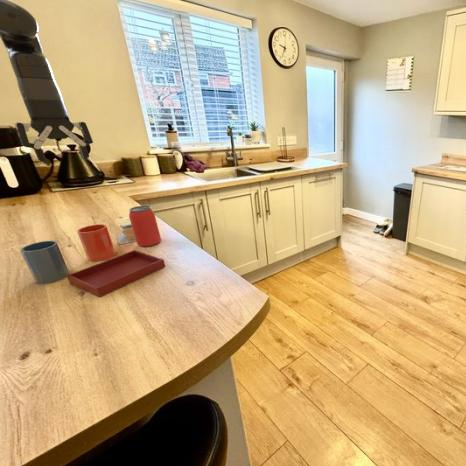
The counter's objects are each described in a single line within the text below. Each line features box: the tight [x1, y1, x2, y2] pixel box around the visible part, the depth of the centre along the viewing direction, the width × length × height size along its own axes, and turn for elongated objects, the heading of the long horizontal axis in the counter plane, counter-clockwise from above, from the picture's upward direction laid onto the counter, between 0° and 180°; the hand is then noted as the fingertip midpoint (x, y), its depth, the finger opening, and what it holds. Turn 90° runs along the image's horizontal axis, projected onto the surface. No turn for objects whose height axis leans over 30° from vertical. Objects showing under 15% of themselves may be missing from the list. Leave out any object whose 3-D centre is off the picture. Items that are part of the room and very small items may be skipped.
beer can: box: [128, 205, 162, 247], centre depth 92 cm, size 7×7×12 cm
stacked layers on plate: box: [116, 218, 137, 245], centre depth 98 cm, size 10×9×6 cm
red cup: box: [76, 223, 117, 262], centre depth 84 cm, size 6×7×9 cm
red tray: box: [66, 249, 166, 298], centre depth 76 cm, size 16×13×2 cm
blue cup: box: [20, 240, 71, 285], centre depth 73 cm, size 6×6×9 cm
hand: (65, 161), depth 82 cm, fingers open, 8 cm apart
